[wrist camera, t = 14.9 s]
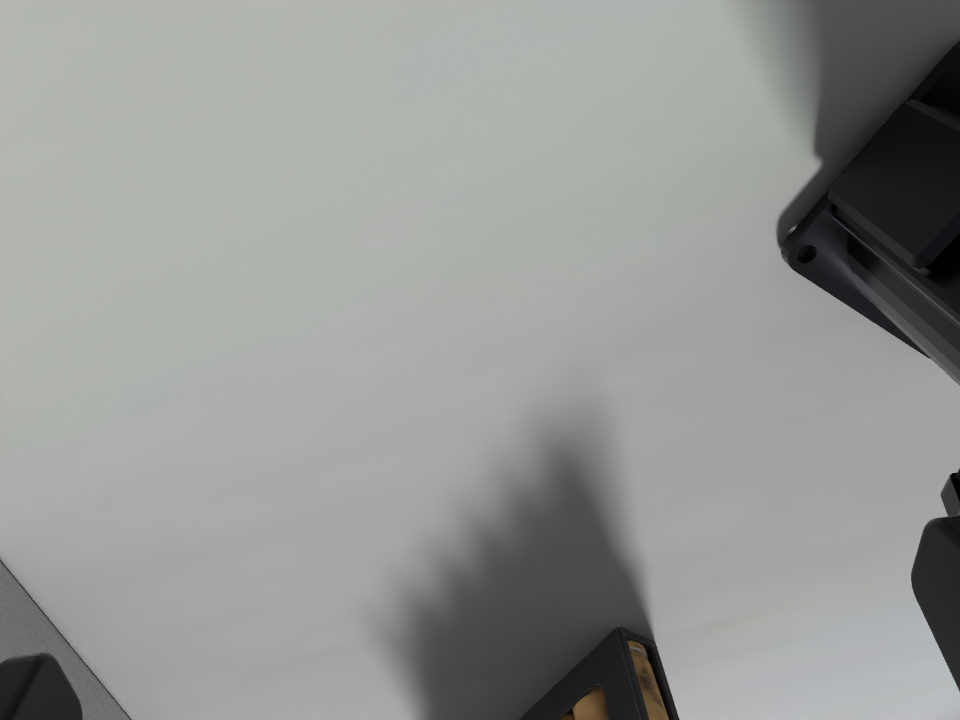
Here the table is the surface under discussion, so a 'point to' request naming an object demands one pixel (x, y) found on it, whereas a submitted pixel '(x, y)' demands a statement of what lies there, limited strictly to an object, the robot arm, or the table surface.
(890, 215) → the robot arm
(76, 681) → the metal housing
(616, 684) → the ammunition clip
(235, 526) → the table surface
